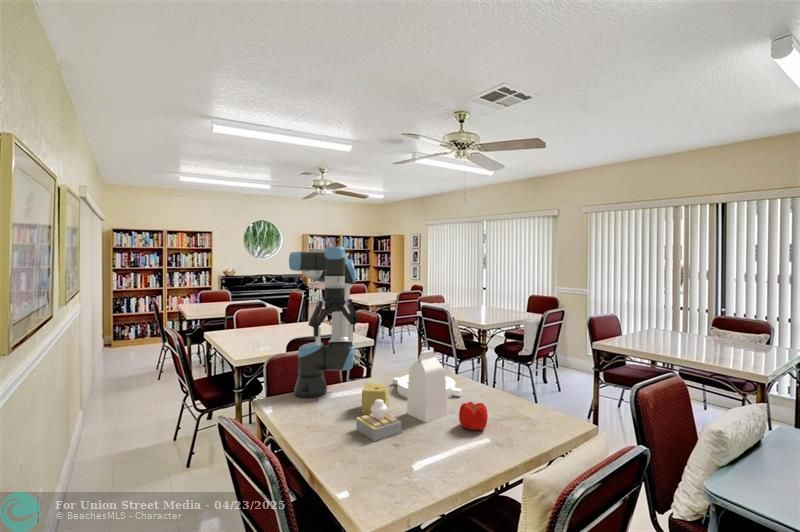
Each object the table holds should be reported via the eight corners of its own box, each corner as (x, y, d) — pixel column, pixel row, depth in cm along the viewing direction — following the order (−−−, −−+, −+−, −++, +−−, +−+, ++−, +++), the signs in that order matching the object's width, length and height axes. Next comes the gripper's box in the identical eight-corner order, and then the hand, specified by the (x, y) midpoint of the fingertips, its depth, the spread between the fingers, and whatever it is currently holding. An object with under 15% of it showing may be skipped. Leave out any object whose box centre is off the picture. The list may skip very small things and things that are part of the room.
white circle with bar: (464, 398, 184) (464, 388, 184) (406, 404, 177) (406, 393, 177) (442, 380, 211) (442, 371, 211) (391, 384, 204) (391, 375, 204)
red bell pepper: (488, 422, 156) (488, 399, 156) (486, 435, 145) (486, 411, 144) (460, 419, 159) (461, 397, 159) (456, 432, 147) (457, 407, 147)
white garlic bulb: (368, 415, 149) (368, 397, 149) (384, 413, 152) (384, 395, 151) (373, 422, 144) (373, 402, 143) (389, 419, 146) (389, 400, 146)
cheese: (388, 406, 173) (388, 383, 173) (385, 415, 162) (385, 391, 162) (365, 405, 174) (365, 382, 174) (360, 414, 163) (360, 390, 163)
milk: (425, 422, 156) (426, 356, 155) (406, 413, 165) (407, 350, 164) (447, 414, 164) (447, 351, 163) (427, 406, 173) (428, 346, 172)
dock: (356, 429, 149) (356, 416, 149) (383, 421, 156) (383, 409, 156) (373, 441, 139) (373, 427, 139) (401, 432, 147) (401, 419, 146)
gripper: (307, 289, 141) (307, 348, 141) (368, 286, 156) (367, 340, 156) (299, 287, 147) (299, 345, 148) (358, 285, 162) (358, 337, 162)
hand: (334, 342), depth 152 cm, fingers open, 13 cm apart
